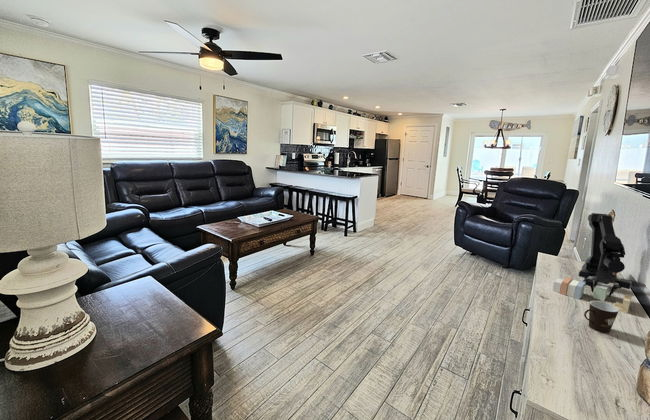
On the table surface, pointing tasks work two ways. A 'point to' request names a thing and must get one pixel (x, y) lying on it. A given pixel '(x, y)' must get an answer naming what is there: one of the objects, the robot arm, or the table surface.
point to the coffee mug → (601, 316)
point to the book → (601, 291)
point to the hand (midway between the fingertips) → (600, 294)
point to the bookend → (624, 304)
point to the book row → (569, 287)
